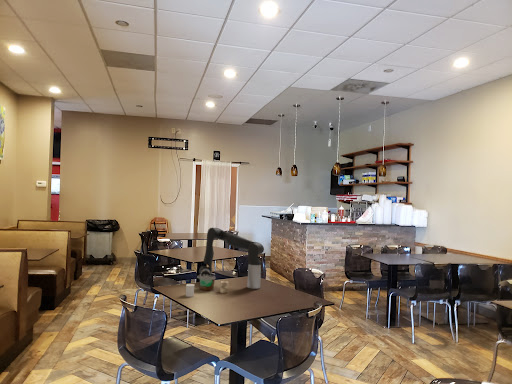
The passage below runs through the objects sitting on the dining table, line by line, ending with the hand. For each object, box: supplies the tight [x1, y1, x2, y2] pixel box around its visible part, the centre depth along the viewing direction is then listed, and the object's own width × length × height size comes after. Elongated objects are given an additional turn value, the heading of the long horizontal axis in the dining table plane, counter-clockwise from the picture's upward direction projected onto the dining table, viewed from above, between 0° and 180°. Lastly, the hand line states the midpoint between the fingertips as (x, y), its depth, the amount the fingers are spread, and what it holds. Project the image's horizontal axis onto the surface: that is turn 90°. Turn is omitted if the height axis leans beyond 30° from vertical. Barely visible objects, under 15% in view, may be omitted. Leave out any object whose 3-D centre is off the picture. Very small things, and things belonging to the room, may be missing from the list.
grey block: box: [185, 283, 195, 298], centre depth 235 cm, size 5×5×7 cm
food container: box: [198, 273, 216, 292], centre depth 252 cm, size 12×6×10 cm, turn 73°
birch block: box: [219, 280, 229, 294], centre depth 250 cm, size 5×5×7 cm
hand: (205, 279), depth 260 cm, fingers closed
